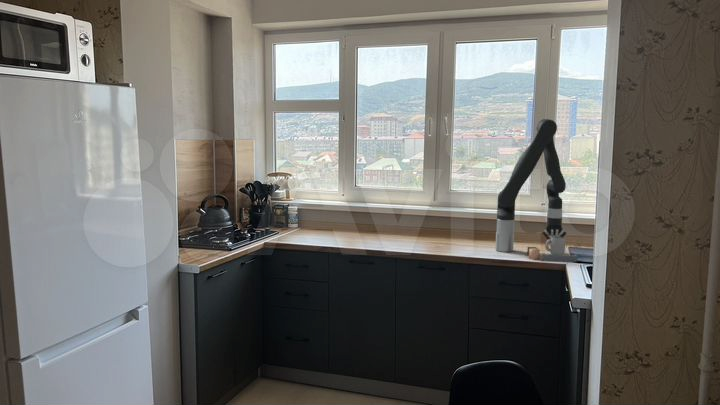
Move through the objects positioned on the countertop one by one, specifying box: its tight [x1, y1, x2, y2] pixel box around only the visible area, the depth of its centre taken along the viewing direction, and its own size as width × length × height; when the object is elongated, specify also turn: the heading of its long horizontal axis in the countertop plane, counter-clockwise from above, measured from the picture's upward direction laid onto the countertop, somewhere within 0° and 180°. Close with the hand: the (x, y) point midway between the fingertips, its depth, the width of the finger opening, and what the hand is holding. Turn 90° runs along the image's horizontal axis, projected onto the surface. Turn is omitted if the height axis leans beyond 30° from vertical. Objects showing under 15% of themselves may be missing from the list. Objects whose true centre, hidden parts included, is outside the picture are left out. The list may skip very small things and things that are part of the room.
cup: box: [544, 235, 566, 255], centre depth 280 cm, size 7×10×9 cm
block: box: [527, 246, 539, 256], centre depth 277 cm, size 4×4×4 cm
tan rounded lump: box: [528, 247, 541, 261], centre depth 269 cm, size 5×5×5 cm
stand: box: [541, 252, 578, 263], centre depth 265 cm, size 16×4×3 cm, turn 80°
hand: (553, 248), depth 285 cm, fingers closed
